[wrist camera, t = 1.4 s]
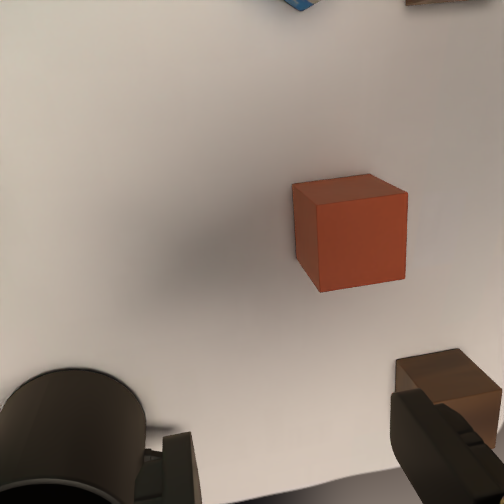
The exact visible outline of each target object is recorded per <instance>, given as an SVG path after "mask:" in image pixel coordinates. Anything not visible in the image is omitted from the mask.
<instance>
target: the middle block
mask: <svg viewBox="0 0 504 504" xmlns="http://www.w3.org/2000/svg"><path fill="white" fill-rule="evenodd" d="M292 190H293V207H294V223H295V240H296V256H297V260H298V262H299V263H300V265H301V266H302V268H303V269H304V270H305V272H306V273H307V275H308V276H309V278H310V279H311V280H312V282H313V283H314V285H315V286H316V288H317V289H318V290H319V292H327V291H333V290H339V289H346V288H352V287H358V286H364V285H370V284H376V283H383V282H389V281H395V280H401V279H405V272H406V242H407V212H408V193H407V192H405V191H403V190H401V189H399V188H397V187H395V186H393V185H391V184H389V183H387V182H385V181H383V180H381V179H379V178H377V177H375V176H373V175H371V174H365V175H357V176H350V177H342V178H334V179H327V180H319V181H312V182H304V183H296V184H292Z"/></svg>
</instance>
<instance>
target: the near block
mask: <svg viewBox="0 0 504 504" xmlns="http://www.w3.org/2000/svg"><path fill="white" fill-rule="evenodd" d="M455 1H467V0H406V6H409V5H421V4H432V3H444V2H455Z"/></svg>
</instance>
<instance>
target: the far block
mask: <svg viewBox="0 0 504 504" xmlns="http://www.w3.org/2000/svg"><path fill="white" fill-rule="evenodd" d="M415 388H420V389H422V390H423V391H424V392H425V394H426V395H427V396H428V397H429V399H430V400H431V401H432V402H433V404H434V405H435V404H440V403H444V404H445V405H447V406H448V407H450V408H452V409H453V410H455V411H456V412H458V413H460V414H461V415H462V416H463V417H464V418H465V420H466V421H467V422H468V423H469V424H470V425H471V427H472V428H473V430H474V432H477V434H478V435H479V436H480V437H481V438H482V439H483V440H484V443H485V444H487V445H488V446H489V447H490V449H493V448H495V443H496V435H497V428H498V420H499V412H500V405H501V397H502V389H501V388H500V387H499V386H498V385H497V384H496V383H495V382H494V381H493V380H492V379H491V378H490V377H489V376H487V375H486V374H485V373H484V372H483V371H482V370H481V369H480V368H479V367H478V366H477V365H476V364H475V363H474V362H473V361H472V360H471V359H469V358H468V357H467V356H466V355H465V354H464V353H463V352H462V351H461V350H460V349H454V350H448V351H443V352H437V353H432V354H427V355H421V356H416V357H410V358H405V359H399V360H397V361H396V392H399V391H404V390H409V389H415Z"/></svg>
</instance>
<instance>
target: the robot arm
mask: <svg viewBox="0 0 504 504" xmlns="http://www.w3.org/2000/svg"><path fill="white" fill-rule="evenodd" d="M390 440H391V445H392V449H393V452H394V455H395V457H396V459H397V461H398V462H399V464H400V466H401V467H402V469H403V471H404V472H405V474H406V476H407V477H408V479H409V481H410V482H411V484H412V485H413V487H414V489H415V491H416V492H417V494H418V496H419V497H420V499H421V501H422V503H423V504H504V464H503V463H502V461H501V460H500V459H499V458H498V457H497V456H496V454H495V453H494V452H493V451H492V450H491V449H490V447H489V446H488V445H487V444H485V443H484V440H483V439H482V438H481V437H480V436H479V435H478V434H477V432H474V430H473V428H472V427H471V425H470V424H469V423H468V422H467V421H466V420H465V418H464V417H463V416H462V415H461V414H460V413H458V412H456V411H455V410H453V409H452V408H450V407H448V406H447V405H445V404H444V403H440V404H435V405H434V404H433V402H432V401H431V400H430V399H429V397H428V396H427V395H426V394H425V392H424V391H423V390H422V389H420V388H415V389H409V390H404V391H399V392H394V393H392V395H391V411H390ZM133 504H202V498H201V489H200V481H199V475H198V469H197V463H196V458H195V452H194V446H193V441H192V435H191V432H185V433H180V434H175V435H170V436H164V437H163V449H162V459H157V460H152V461H147V462H144V464H143V466H142V468H141V470H140V472H139V474H138V476H137V477H136V479H135V489H134V503H133Z"/></svg>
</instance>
